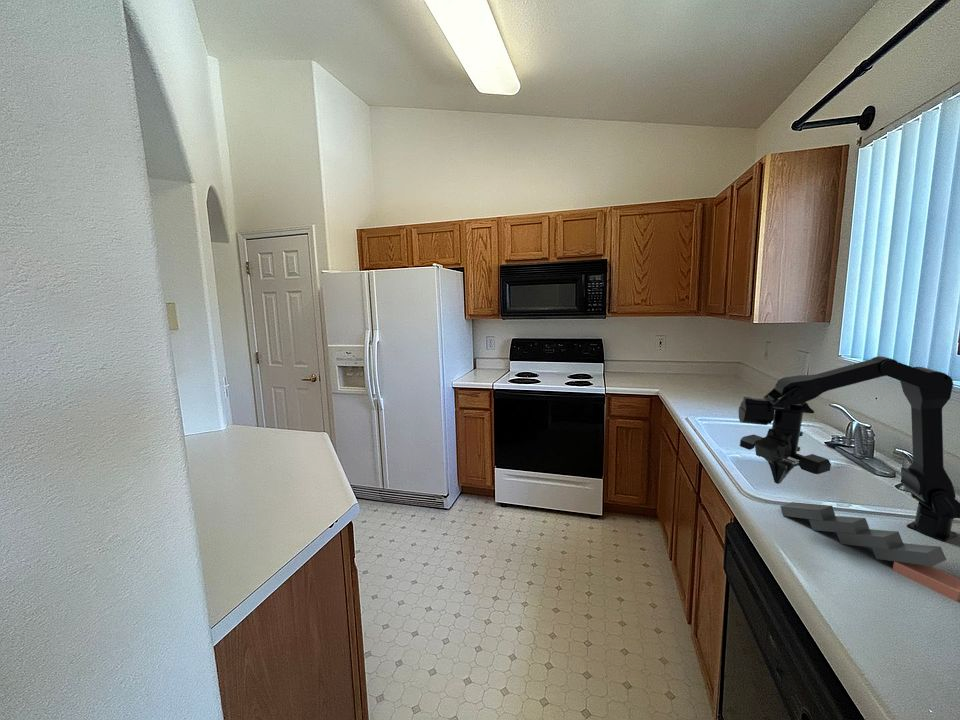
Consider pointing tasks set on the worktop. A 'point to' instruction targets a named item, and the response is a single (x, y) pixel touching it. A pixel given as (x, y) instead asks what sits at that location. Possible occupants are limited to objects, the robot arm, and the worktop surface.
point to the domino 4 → (912, 554)
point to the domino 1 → (807, 511)
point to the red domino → (930, 578)
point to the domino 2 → (841, 524)
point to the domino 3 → (872, 539)
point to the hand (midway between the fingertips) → (777, 483)
